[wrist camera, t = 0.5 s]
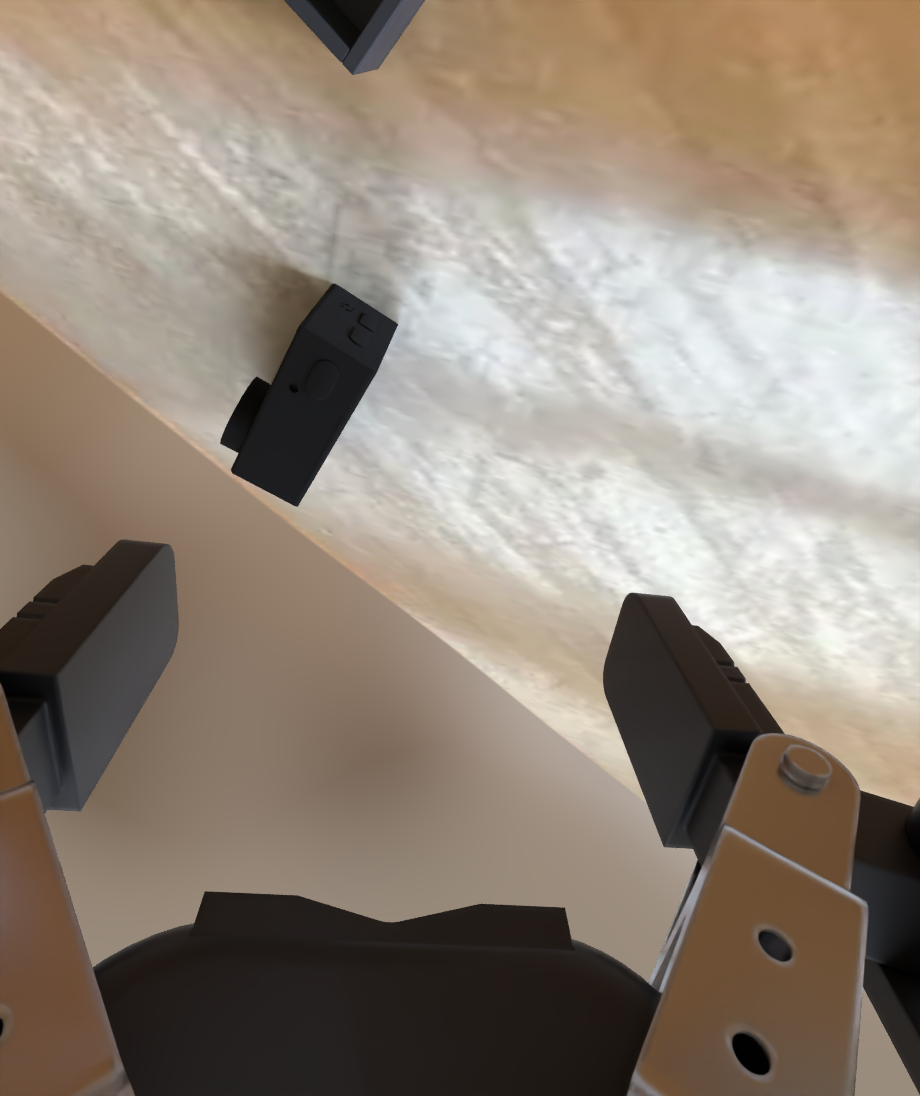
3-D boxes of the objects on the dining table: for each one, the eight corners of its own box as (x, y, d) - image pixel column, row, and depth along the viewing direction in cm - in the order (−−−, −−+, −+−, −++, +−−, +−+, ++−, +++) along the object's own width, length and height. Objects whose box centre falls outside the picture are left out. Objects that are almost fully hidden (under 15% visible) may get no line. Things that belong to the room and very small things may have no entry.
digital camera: (315, 267, 35) (276, 309, 30) (399, 322, 37) (377, 371, 32) (251, 406, 41) (209, 463, 36) (325, 448, 43) (296, 508, 37)
